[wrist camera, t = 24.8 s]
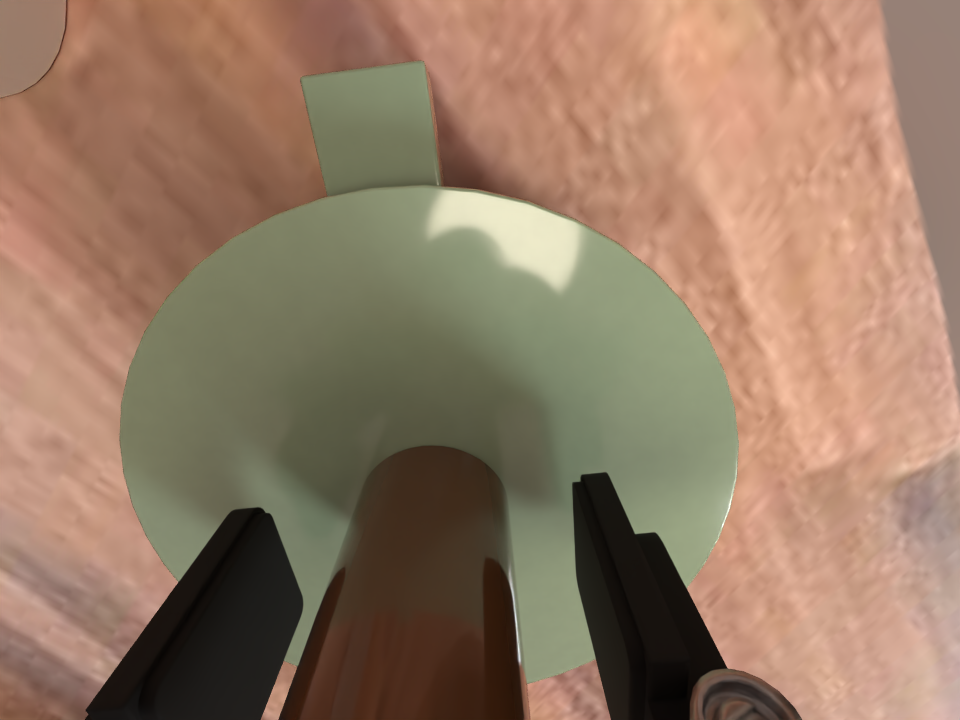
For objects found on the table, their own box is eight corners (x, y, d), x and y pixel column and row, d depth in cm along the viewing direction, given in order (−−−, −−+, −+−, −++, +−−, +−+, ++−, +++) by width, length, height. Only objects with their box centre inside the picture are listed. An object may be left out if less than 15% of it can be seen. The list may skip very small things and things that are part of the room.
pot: (342, 560, 22) (281, 737, 15) (208, 139, 15) (-26, 109, 8) (615, 535, 22) (681, 704, 15) (617, 86, 14) (751, 3, 7)
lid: (256, 677, 15) (83, 1073, 8) (38, 230, 9) (-1033, 366, 3) (695, 638, 14) (880, 1027, 8) (747, 140, 9) (1574, 32, 2)
